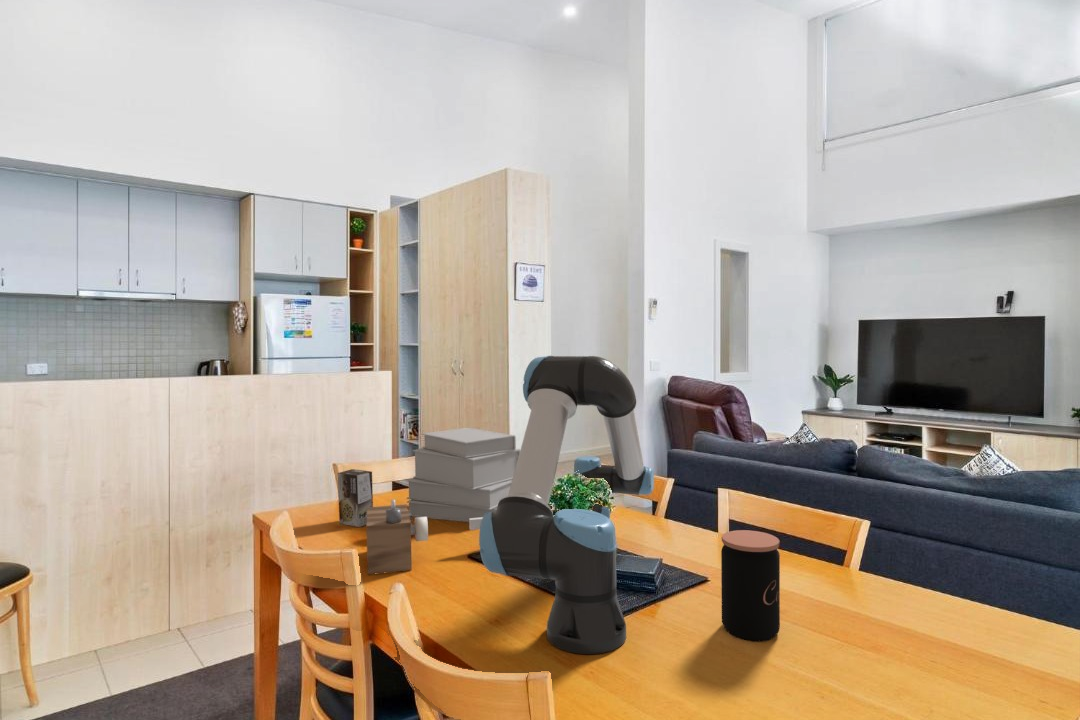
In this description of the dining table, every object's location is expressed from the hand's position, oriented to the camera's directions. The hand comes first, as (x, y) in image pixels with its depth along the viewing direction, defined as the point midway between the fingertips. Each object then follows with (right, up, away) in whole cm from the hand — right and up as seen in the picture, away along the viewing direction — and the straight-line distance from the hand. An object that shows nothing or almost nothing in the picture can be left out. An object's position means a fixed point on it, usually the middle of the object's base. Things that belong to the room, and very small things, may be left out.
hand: (469, 524), depth 171 cm
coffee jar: (+59, -9, -47) cm, 76 cm away
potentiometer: (-18, +4, -12) cm, 22 cm away
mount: (-20, -8, -5) cm, 23 cm away
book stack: (-5, -7, +41) cm, 42 cm away
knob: (-18, -4, -5) cm, 19 cm away
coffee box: (-39, -7, +29) cm, 49 cm away
